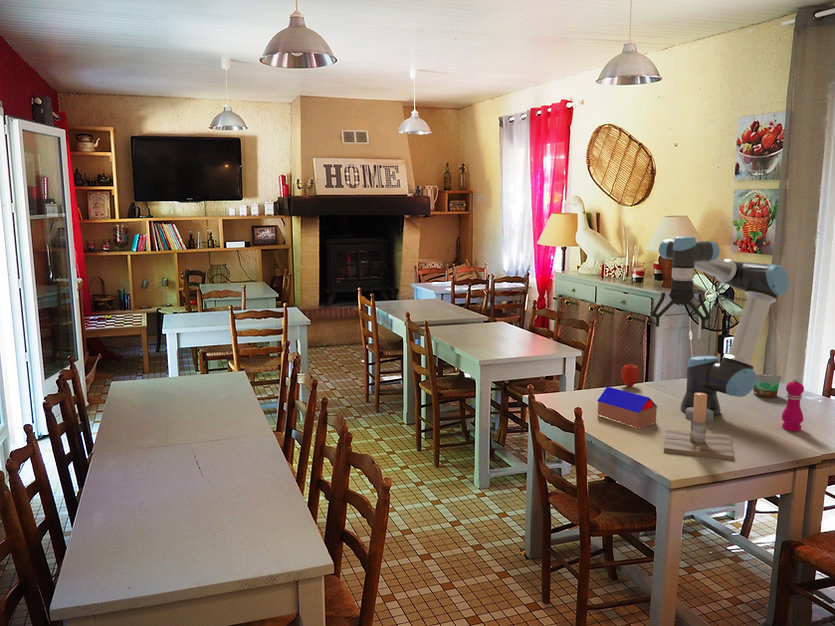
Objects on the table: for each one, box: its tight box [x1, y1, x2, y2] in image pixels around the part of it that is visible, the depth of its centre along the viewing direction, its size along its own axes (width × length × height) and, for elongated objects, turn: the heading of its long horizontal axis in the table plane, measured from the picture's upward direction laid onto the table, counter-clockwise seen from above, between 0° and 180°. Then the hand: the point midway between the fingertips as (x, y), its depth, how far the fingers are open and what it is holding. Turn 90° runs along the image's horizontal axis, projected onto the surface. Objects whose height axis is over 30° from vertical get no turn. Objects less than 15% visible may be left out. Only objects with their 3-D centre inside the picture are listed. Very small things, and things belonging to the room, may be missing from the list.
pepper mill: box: [781, 377, 805, 432], centre depth 259 cm, size 7×7×20 cm
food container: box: [752, 373, 783, 399], centre depth 302 cm, size 12×6×10 cm, turn 73°
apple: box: [620, 363, 640, 388], centre depth 320 cm, size 9×8×11 cm
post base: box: [663, 421, 735, 461], centre depth 242 cm, size 22×22×10 cm
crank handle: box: [684, 393, 714, 426], centre depth 237 cm, size 16×9×12 cm, turn 157°
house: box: [597, 386, 658, 429], centre depth 271 cm, size 12×20×12 cm, turn 36°
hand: (679, 336), depth 251 cm, fingers open, 13 cm apart
